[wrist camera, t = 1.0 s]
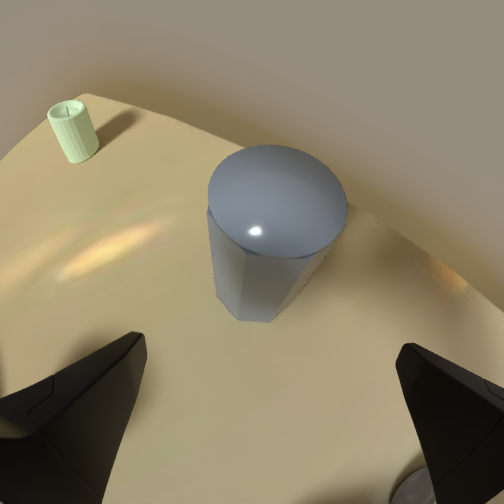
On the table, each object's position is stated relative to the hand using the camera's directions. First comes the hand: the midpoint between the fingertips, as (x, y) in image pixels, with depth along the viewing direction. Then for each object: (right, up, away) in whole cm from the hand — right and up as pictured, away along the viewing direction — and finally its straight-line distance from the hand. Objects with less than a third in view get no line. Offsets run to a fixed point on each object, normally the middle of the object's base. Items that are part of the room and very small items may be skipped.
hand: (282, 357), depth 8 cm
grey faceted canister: (-1, 0, +15) cm, 15 cm away
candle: (-24, +17, +22) cm, 37 cm away
